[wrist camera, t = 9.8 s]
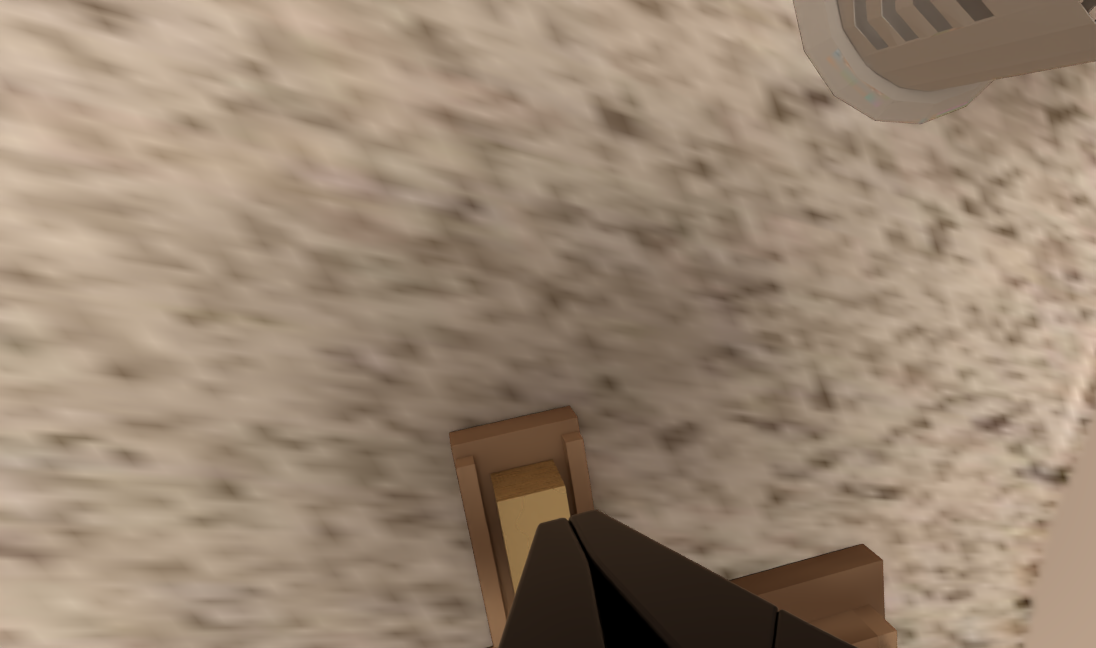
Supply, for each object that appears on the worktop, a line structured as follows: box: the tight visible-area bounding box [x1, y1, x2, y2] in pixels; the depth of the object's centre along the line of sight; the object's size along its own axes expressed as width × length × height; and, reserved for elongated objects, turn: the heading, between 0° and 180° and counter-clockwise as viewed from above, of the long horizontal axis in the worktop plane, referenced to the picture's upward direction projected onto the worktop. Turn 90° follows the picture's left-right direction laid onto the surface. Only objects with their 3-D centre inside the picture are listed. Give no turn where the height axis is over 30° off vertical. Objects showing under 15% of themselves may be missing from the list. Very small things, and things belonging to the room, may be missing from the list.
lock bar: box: [490, 459, 570, 596], centre depth 22 cm, size 6×2×2 cm, turn 9°
